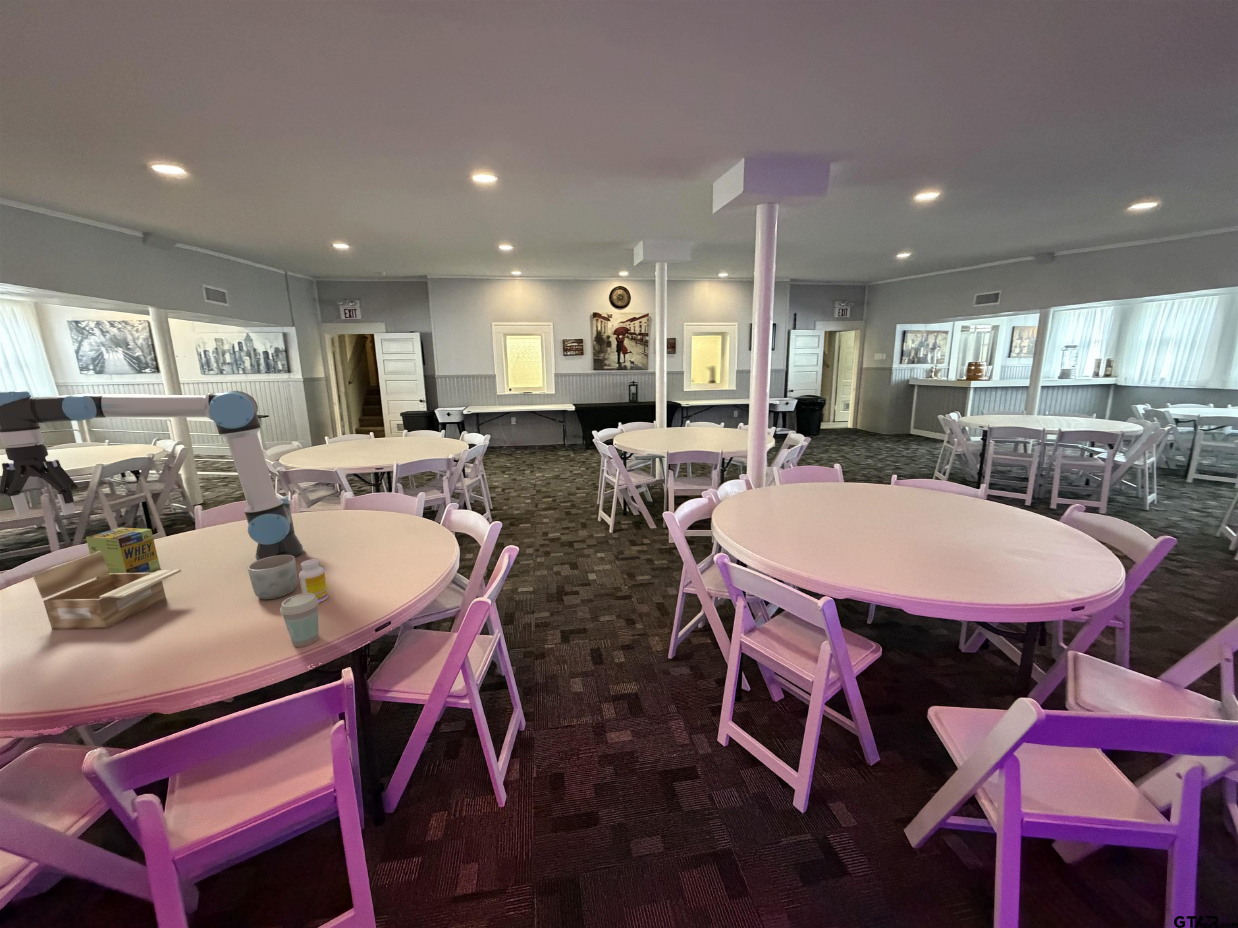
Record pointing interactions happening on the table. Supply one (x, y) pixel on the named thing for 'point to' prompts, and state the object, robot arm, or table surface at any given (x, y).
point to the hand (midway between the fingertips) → (47, 514)
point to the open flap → (70, 574)
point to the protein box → (126, 550)
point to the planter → (273, 576)
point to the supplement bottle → (313, 579)
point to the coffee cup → (301, 618)
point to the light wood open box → (106, 600)
